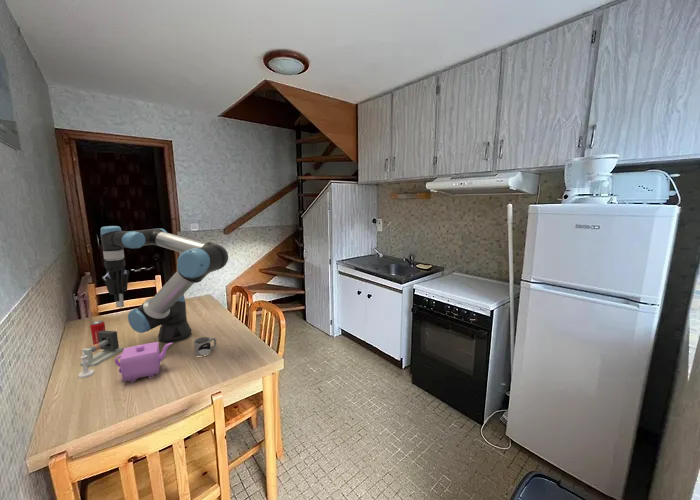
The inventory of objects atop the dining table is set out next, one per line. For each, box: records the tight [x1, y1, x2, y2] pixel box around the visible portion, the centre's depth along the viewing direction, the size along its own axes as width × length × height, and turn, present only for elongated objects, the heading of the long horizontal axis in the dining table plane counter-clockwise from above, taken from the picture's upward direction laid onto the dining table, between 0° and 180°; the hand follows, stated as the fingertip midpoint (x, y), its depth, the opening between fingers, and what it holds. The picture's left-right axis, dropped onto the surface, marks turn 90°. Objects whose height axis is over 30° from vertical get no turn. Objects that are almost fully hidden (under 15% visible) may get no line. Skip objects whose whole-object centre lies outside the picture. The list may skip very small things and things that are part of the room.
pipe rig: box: [79, 338, 124, 367], centre depth 132 cm, size 14×7×7 cm, turn 173°
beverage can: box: [89, 320, 106, 346], centre depth 143 cm, size 5×5×12 cm
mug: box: [193, 336, 217, 357], centre depth 138 cm, size 10×7×7 cm, turn 143°
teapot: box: [114, 341, 174, 383], centre depth 120 cm, size 20×10×12 cm, turn 120°
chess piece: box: [78, 351, 95, 379], centre depth 119 cm, size 5×5×10 cm
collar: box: [98, 330, 120, 351], centre depth 136 cm, size 2×7×8 cm, turn 84°
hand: (120, 306), depth 141 cm, fingers closed
